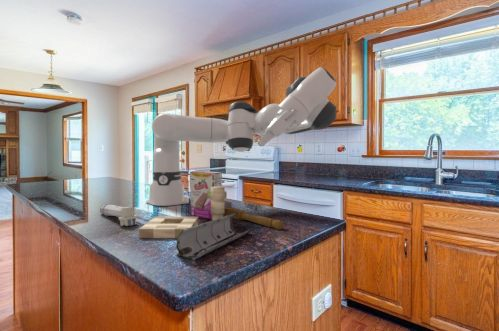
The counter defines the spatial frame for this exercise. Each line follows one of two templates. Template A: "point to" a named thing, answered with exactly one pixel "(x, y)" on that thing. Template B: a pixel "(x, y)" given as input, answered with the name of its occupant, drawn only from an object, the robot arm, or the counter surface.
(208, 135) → the robot arm
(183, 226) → the board
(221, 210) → the peg
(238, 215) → the tap handle
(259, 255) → the counter surface
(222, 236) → the grey angled channel
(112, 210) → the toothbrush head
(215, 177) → the candy bar box
